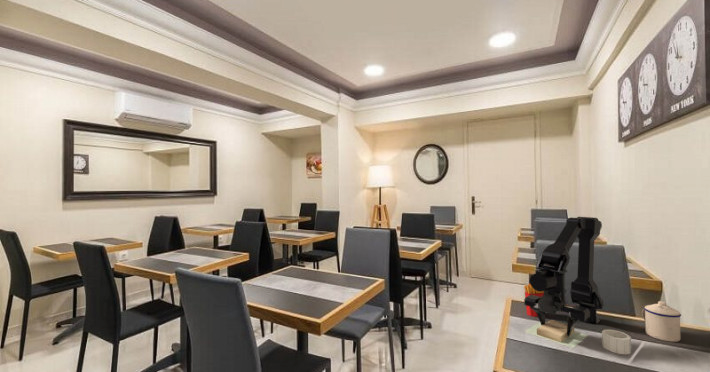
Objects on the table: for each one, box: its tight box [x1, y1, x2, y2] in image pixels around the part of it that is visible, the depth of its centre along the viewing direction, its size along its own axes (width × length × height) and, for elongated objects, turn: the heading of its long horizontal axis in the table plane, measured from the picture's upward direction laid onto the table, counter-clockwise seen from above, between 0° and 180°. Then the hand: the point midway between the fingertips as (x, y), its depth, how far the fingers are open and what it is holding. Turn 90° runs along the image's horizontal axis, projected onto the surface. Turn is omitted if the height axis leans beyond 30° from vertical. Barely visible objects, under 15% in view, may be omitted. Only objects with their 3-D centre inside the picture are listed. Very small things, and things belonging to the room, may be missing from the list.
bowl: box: [601, 329, 632, 355], centre depth 100 cm, size 7×7×5 cm
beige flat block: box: [537, 319, 575, 342], centre depth 111 cm, size 12×7×2 cm, turn 128°
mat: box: [523, 321, 589, 349], centre depth 111 cm, size 14×15×1 cm
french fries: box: [523, 283, 544, 318], centre depth 128 cm, size 9×4×13 cm, turn 106°
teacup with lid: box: [641, 300, 682, 343], centre depth 111 cm, size 12×9×12 cm
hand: (555, 331), depth 111 cm, fingers closed on beige flat block, 7 cm apart
